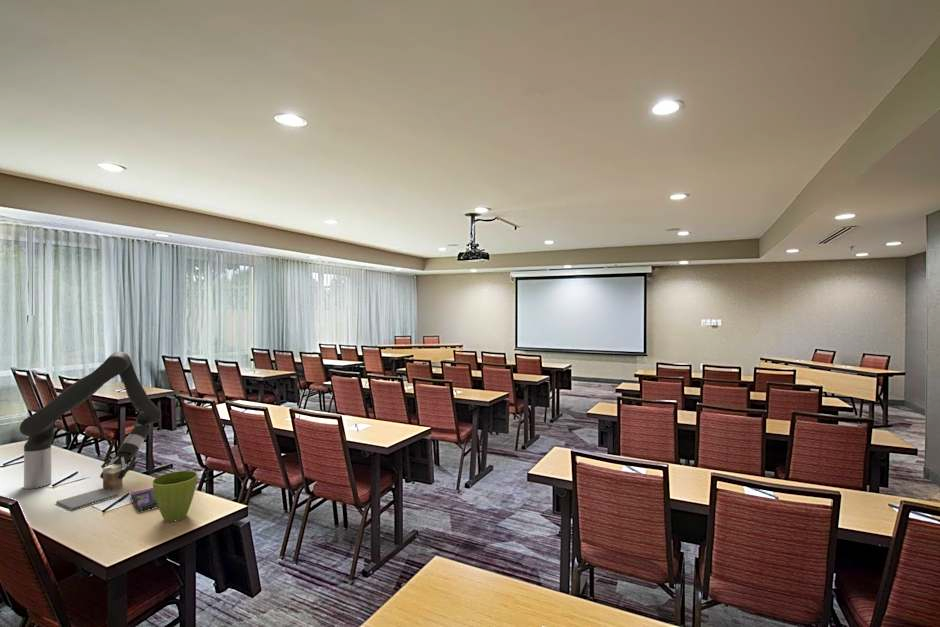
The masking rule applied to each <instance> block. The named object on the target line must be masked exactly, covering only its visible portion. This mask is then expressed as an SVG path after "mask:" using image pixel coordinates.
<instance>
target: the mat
mask: <svg viewBox="0 0 940 627" xmlns="http://www.w3.org/2000/svg"><path fill="white" fill-rule="evenodd" d="M115 496H117V497H118V493H116V492H113V491H111V490H105V489H103V487H101V488H97V489H93V490H91V491H87V492H84V493H80V494H77V495H74V496H70V497H67V498H63V499H60V500H56V501H55V503H56V505H58V504H59V506H60V505H61V506H60V507H63V508H65V507H66V508H65V509H67V508H68V510H70V509H71V510H70V511H74V509H76V510H78V509H77V508H79V509H81V508H80V507H82V508H84V507H83V506H85V507H87V506H86V505H88V506H90V505H89V504H92V503H95V502H98V501H101V502H103V501H102V500H104V501H106V500H105V499H108V498H111V499H113V498H112V497H114V498H116V497H115ZM108 500H109V499H108ZM98 503H99V502H98ZM95 504H96V503H95ZM92 505H93V504H92Z"/></svg>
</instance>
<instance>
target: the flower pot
mask: <svg viewBox="0 0 940 627" xmlns="http://www.w3.org/2000/svg"><path fill="white" fill-rule="evenodd" d="M198 475H199V474H198V472H196V471H192V470H178V471H173V472H169V473H165V474H162V475H159V476H157V477H155V478H154V479H153V480H152V488H153V489H154V494H155V498H156V502H157V505H158V508H157V509H158V510H159V512H160V515H161V517H162V518H163V520H165V521H164V522H166V521H174V522H176V521H175V520H178V521H180V520H179V519H181V520H183V519H184V517H185V518H186V517H187V516H188V512H189V510H190V507H191V504H192V501H193V499H194V495H195V491H196V487H197V482H198V481H197V480H198ZM182 518H183V519H182Z"/></svg>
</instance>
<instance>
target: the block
mask: <svg viewBox="0 0 940 627" xmlns="http://www.w3.org/2000/svg"><path fill="white" fill-rule="evenodd" d="M122 470H123V466H122V465H119V464H114V463H113V464H112V465H109V466H107V467H104V468H102V472H103V479H102V489H105V490H108V491H115V490H117V489H119V488H121V487H123V485H124V484H123V481H124V478H122V479H119V478H118V476H119V474H120V473H121V471H122ZM116 488H117V489H116ZM114 489H115V490H114Z"/></svg>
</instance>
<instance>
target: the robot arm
mask: <svg viewBox="0 0 940 627" xmlns="http://www.w3.org/2000/svg"><path fill="white" fill-rule="evenodd" d="M117 376H119V377H120V379H121V380H122V383H123V385H124V389H125V392H126V394H127V397H128V399H129V401H130V403H131V404H132V406H133V407H134V408H135V409H136V410H141V412H139V413H138V414H137V416H136V418H135V422H134V425H133V428H132V429H131V430H130V432H129V434H128V435H127V436H126V438H125V439H124V441H123V442H122V444H121V446H119V448H118V449H117V452H116V455H114V456H112V455H108V456H107V458H106V459H105V461H104V462H103V463H102V465H101V466H100V467H101V468H102V469H103V468H104V467H107V466H109V465H112V464H119V465H122V466H123V470H122V471H121V473H120V474H119V476H118V478H119V479H122V478H123V479H124V478H125V476H126V475H127V472H129V471H130V472H131V471H133V470H134V469H135V467H136V465H137V464H138V461H139V460H140V459H139V458H138V457H137V456H136V455H137V453H138V452H139V450H140V448H141V447H142V445H143V443H144V441H145V439H146V438H147V436H148V434H149V433H150V428H149V426H148V425H149V424H155V423H158V422H159V421H160V420H161V419H162V412H161V409H159V407H158V406H157V405H156V404H155V403H154V402H153V401H152V400H151V399H150V397H149V396H148V394H147V392H146V390H145V389H144V388H143V386H142V384H141V382H140V380H139V378H138V376H137V373H136V371H135V368H134V365H133V363H132V359H131V356H130V355H129V354H128V353H126V352H124V351H116V352H113V353H112V354H110V355H109V356H108V357H107V358H106V359H105V361H104V362H102V363H101V364H100V365H99V366H98V367H97V368H96V369H95V370H93V371H92V372H91V373H90V374H87V375H86V376H83V377H81V378H80V379H78V380H77V381H75V382H73V383H72V384H71V385H70V386H68V387H66V388H65V389H64V390H63V391H62V392H61V393H59V394H58V395H57V396H55V398H53V399H52V400H51V401H49V403H48V404H46V405H45V406H43V407H42V408H40V409H39V410H37V411H36V412H34V413H33V414H31V415H29V416H28V417H26V418H25V419H23V420H22V421H21V423H20V425H19V432H20V433H21V434H22V435H23V436H25V437H28V439H27V441H26V442H25V443H24V445H23V489H25V490H33V489H38V488H39V487H40V488H43V486H44V487H46V485H47V486H49V485H51V484H50V483H52V443H53V441H54V434H55V420H57V419H58V418H59V417H61V416H64V415H65V414H67V413H68V412H70V411H72V410H73V409H75V408H77V407H79V406H80V405H82V404H83V403H84V402H85V401H87V400H88V399H89V398H91V397H92V396H93V395H94V394H95V393H96V392H97V391H99V390H100V389H101V387H103V386H104V385H105V384H106V383H108V382H110V381H111V380H112V379H113V378H115V377H117ZM99 478H100V479H102V480H103V471H102V472H101V473H100V476H99ZM48 484H49V485H48Z"/></svg>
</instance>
